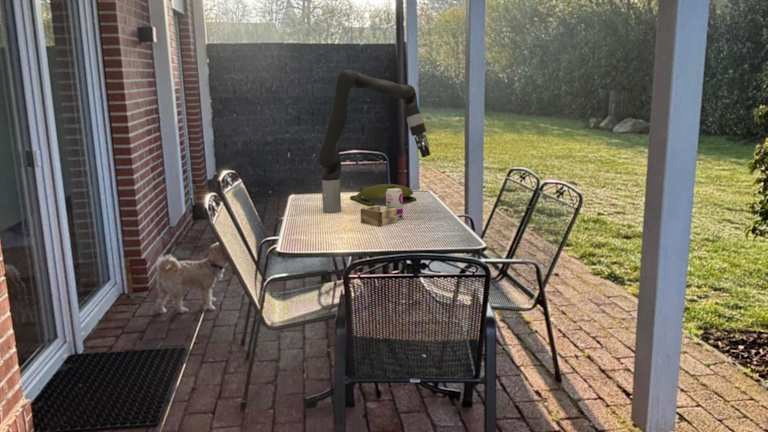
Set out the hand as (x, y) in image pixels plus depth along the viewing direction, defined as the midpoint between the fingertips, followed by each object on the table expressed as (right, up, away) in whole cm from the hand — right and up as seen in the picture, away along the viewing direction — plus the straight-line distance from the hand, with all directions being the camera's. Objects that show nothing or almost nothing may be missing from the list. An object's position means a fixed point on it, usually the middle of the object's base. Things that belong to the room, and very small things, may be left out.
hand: (426, 156), depth 320 cm
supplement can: (-15, -31, +5) cm, 35 cm away
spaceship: (-20, -21, +56) cm, 63 cm away
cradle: (-23, -32, -2) cm, 39 cm away
